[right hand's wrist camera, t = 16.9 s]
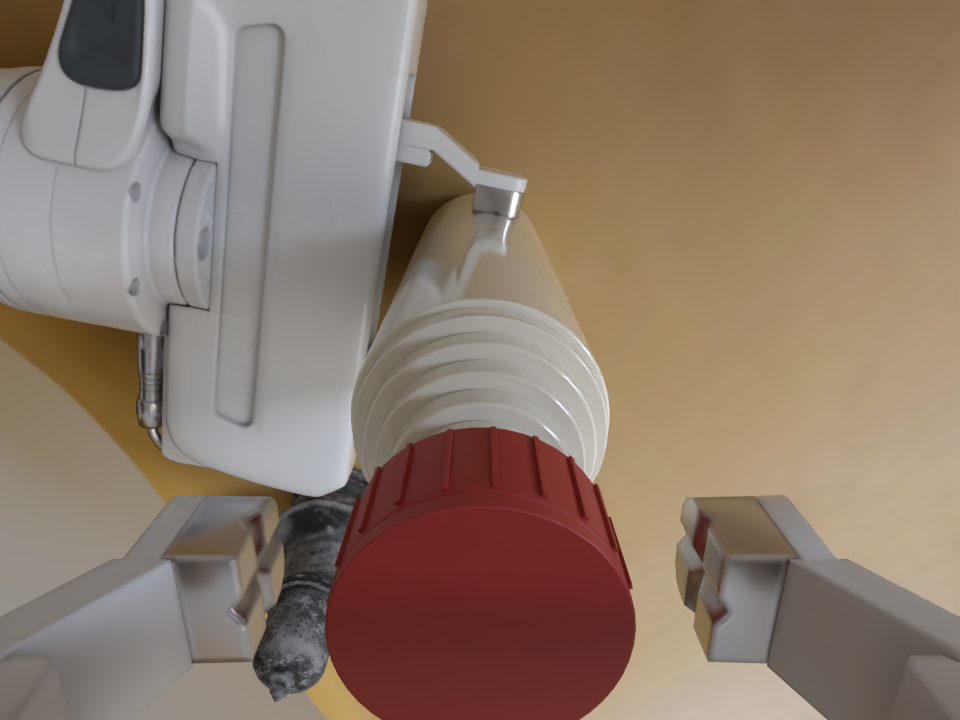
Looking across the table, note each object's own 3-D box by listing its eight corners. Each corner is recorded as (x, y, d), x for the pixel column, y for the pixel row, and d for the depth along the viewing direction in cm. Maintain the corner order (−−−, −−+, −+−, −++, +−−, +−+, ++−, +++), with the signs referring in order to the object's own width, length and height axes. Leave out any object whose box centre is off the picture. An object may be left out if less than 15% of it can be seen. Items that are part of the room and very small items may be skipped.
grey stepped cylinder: (351, 572, 36) (294, 780, 25) (264, 513, 35) (162, 705, 24) (418, 505, 35) (389, 696, 23) (330, 440, 33) (254, 610, 22)
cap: (608, 630, 11) (635, 743, 9) (368, 642, 11) (345, 757, 9) (610, 414, 9) (644, 493, 7) (333, 431, 9) (296, 512, 8)
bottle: (420, 310, 31) (289, 753, 10) (419, 190, 29) (252, 420, 8) (536, 313, 31) (659, 760, 10) (543, 194, 29) (719, 432, 8)
